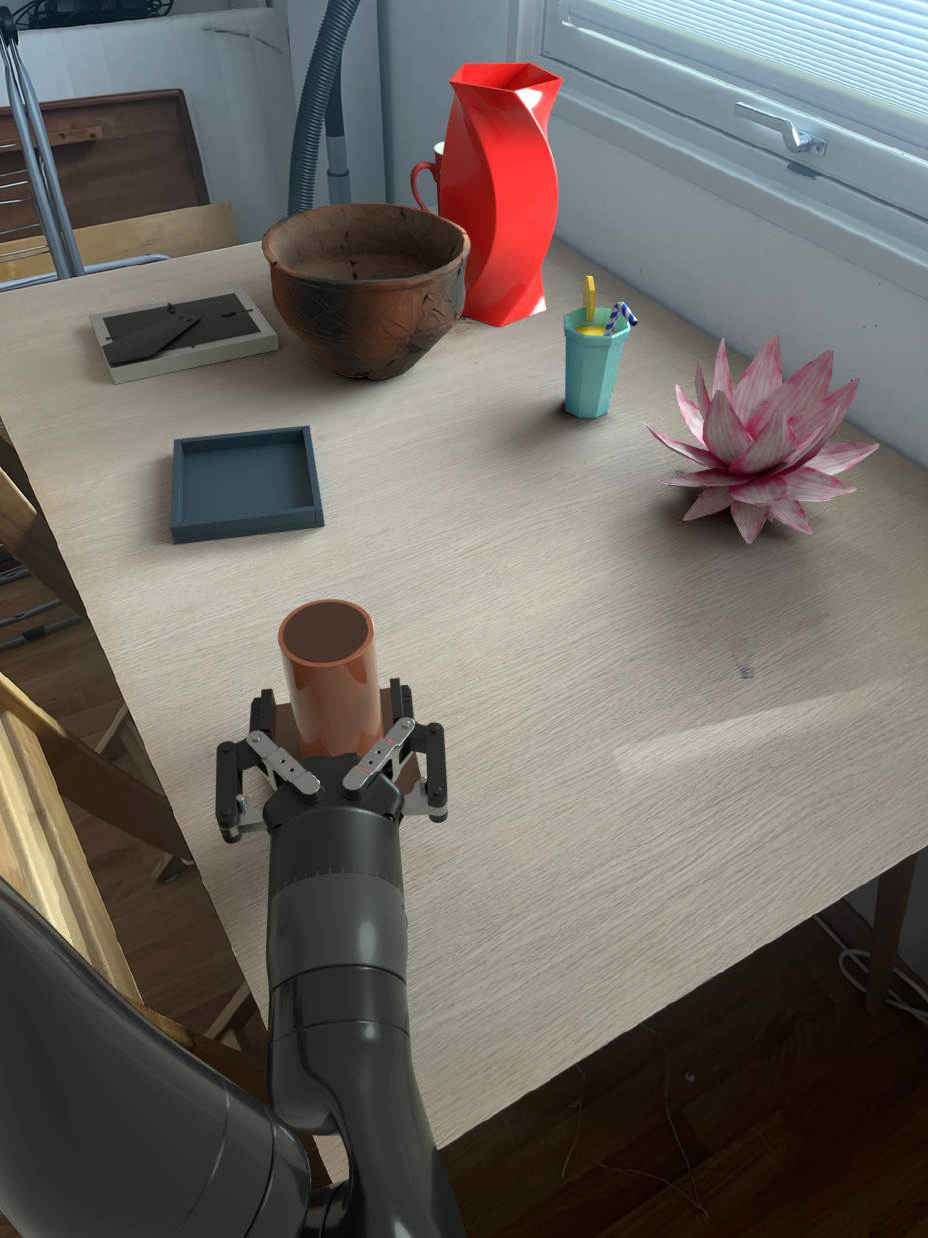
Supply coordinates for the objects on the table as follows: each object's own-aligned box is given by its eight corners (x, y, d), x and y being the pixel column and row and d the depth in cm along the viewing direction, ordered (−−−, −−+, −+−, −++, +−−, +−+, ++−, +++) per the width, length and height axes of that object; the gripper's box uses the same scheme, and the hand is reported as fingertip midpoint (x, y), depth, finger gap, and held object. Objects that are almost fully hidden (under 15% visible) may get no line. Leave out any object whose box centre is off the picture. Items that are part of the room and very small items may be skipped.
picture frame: (114, 384, 107) (279, 349, 114) (108, 363, 105) (276, 328, 112) (92, 329, 117) (245, 300, 124) (86, 309, 115) (241, 280, 122)
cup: (647, 435, 100) (670, 308, 89) (585, 447, 98) (601, 320, 88) (593, 376, 109) (608, 256, 99) (535, 387, 107) (545, 265, 97)
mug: (484, 227, 144) (486, 136, 134) (496, 249, 137) (499, 155, 128) (408, 232, 142) (405, 140, 133) (416, 254, 136) (413, 160, 126)
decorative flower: (776, 431, 101) (814, 304, 90) (891, 545, 86) (953, 411, 76) (604, 460, 96) (623, 330, 86) (695, 586, 82) (731, 449, 71)
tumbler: (283, 758, 67) (256, 639, 58) (338, 705, 71) (321, 585, 61) (348, 799, 64) (331, 681, 55) (401, 742, 68) (393, 622, 59)
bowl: (509, 346, 115) (515, 228, 104) (388, 429, 100) (381, 301, 90) (364, 296, 125) (356, 183, 114) (236, 364, 111) (213, 243, 100)
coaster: (275, 825, 63) (274, 822, 63) (267, 709, 71) (266, 706, 71) (425, 799, 65) (425, 796, 65) (402, 688, 73) (401, 685, 72)
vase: (555, 322, 120) (576, 89, 100) (452, 332, 117) (452, 95, 98) (524, 276, 130) (537, 57, 111) (429, 285, 128) (425, 62, 108)
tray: (174, 544, 85) (169, 527, 84) (177, 455, 96) (173, 438, 95) (324, 526, 88) (322, 509, 86) (311, 441, 99) (309, 424, 97)
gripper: (465, 864, 46) (435, 643, 58) (190, 893, 45) (215, 662, 56) (464, 930, 52) (437, 716, 63) (217, 958, 50) (235, 735, 62)
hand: (332, 691), depth 60 cm, fingers open, 8 cm apart
